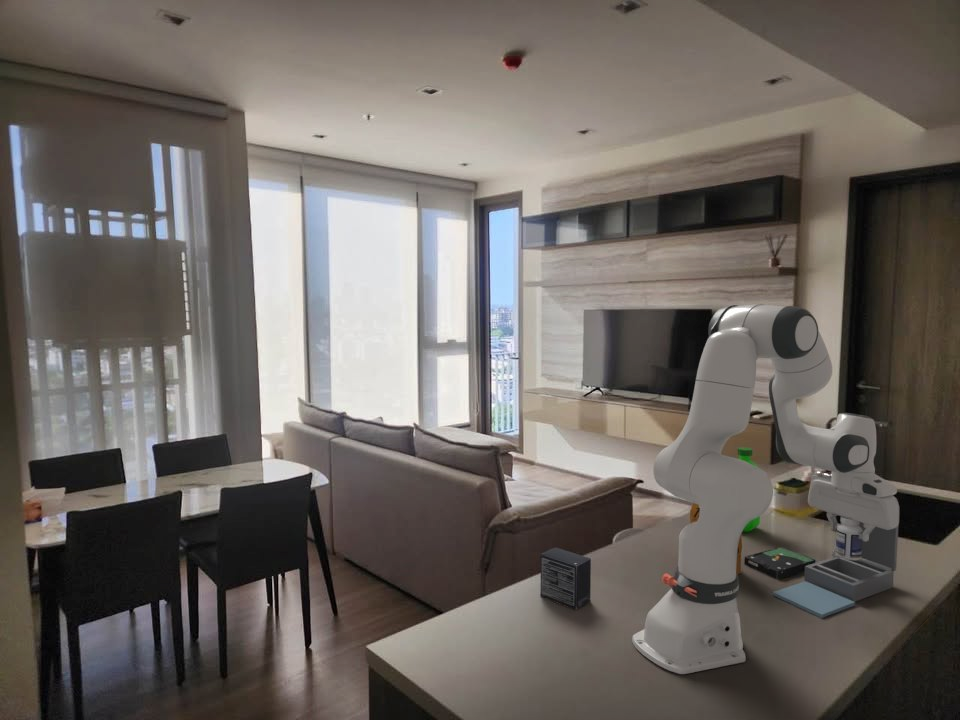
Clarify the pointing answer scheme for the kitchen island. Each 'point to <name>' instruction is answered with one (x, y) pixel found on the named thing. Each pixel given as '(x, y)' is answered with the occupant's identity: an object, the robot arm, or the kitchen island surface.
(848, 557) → the pill bottle
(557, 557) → the small box
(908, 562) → the kitchen island surface
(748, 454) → the plastic bottle
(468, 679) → the kitchen island surface
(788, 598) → the mat
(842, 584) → the hinged lid box
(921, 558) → the kitchen island surface
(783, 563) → the disk drive
